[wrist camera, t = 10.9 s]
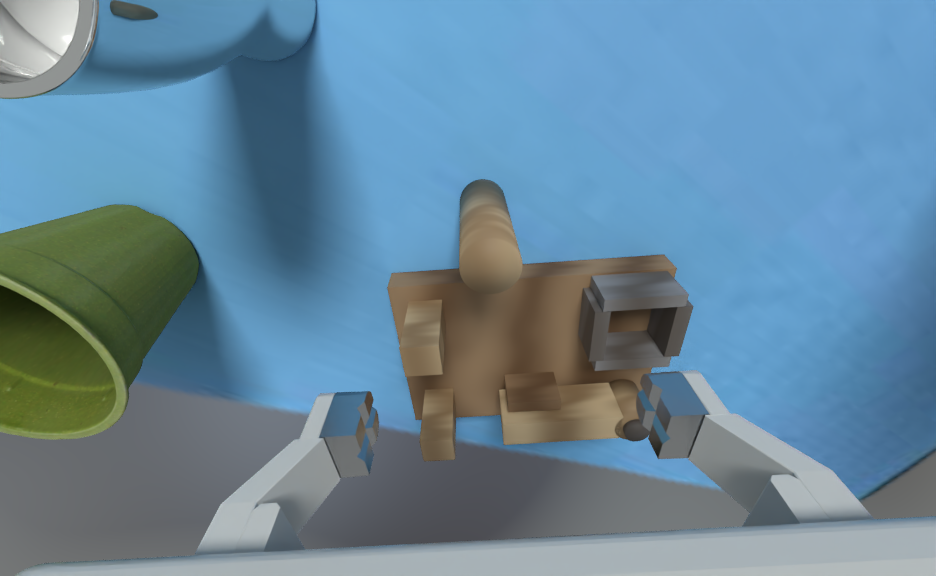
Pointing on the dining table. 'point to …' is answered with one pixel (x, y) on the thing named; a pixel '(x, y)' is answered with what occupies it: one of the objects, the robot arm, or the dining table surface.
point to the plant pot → (84, 315)
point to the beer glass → (138, 41)
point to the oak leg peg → (487, 240)
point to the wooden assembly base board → (531, 336)
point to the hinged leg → (578, 415)
